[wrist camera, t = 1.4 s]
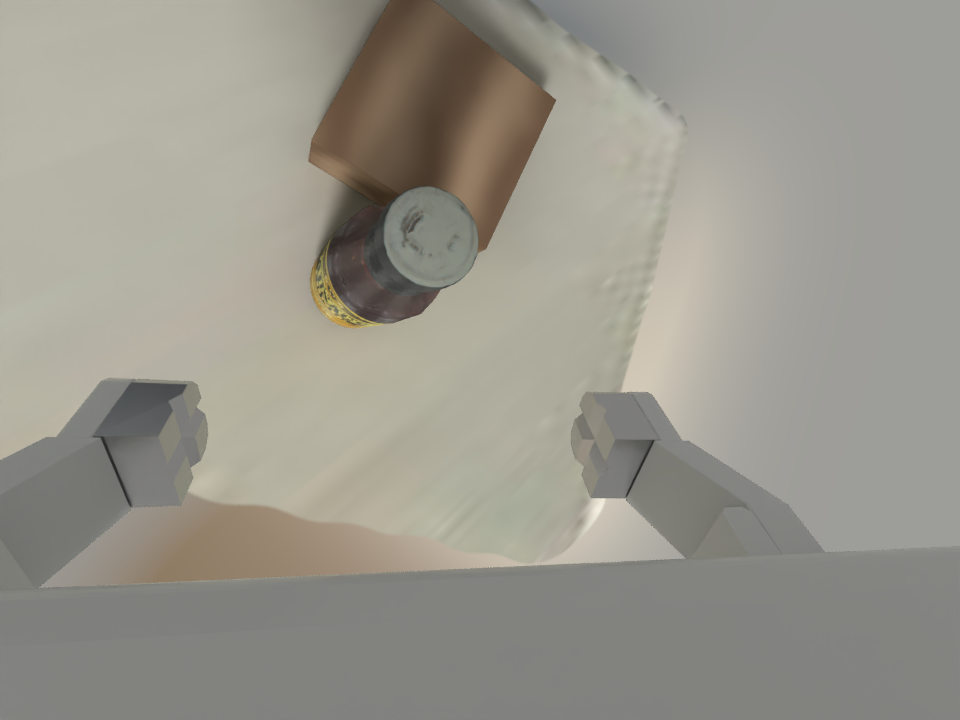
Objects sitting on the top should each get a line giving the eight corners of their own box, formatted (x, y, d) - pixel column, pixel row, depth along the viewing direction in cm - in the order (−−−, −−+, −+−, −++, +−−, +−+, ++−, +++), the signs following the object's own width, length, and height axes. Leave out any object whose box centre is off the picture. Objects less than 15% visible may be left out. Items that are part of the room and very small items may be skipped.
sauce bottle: (292, 267, 35) (308, 171, 17) (368, 235, 38) (456, 118, 19) (335, 347, 37) (394, 336, 18) (407, 311, 39) (524, 269, 20)
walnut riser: (308, 161, 36) (312, 138, 32) (391, 13, 38) (403, -24, 34) (467, 258, 41) (486, 248, 37) (532, 122, 43) (556, 100, 39)
